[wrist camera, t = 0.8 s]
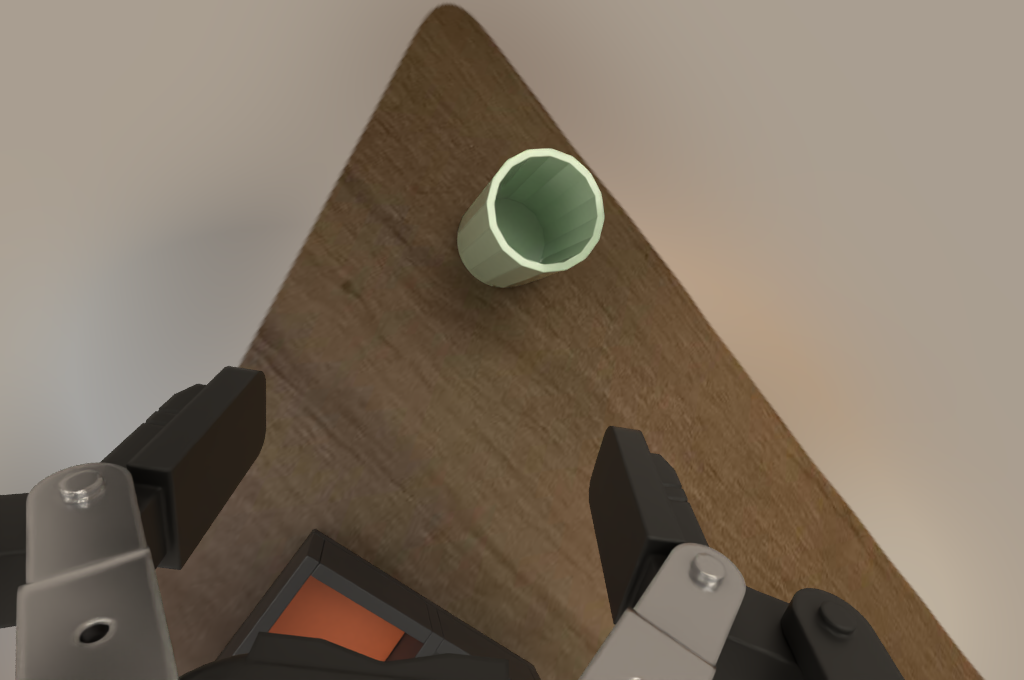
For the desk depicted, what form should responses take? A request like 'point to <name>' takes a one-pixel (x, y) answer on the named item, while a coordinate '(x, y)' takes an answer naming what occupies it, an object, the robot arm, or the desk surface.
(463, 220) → the cup
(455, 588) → the desk surface
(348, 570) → the holder
